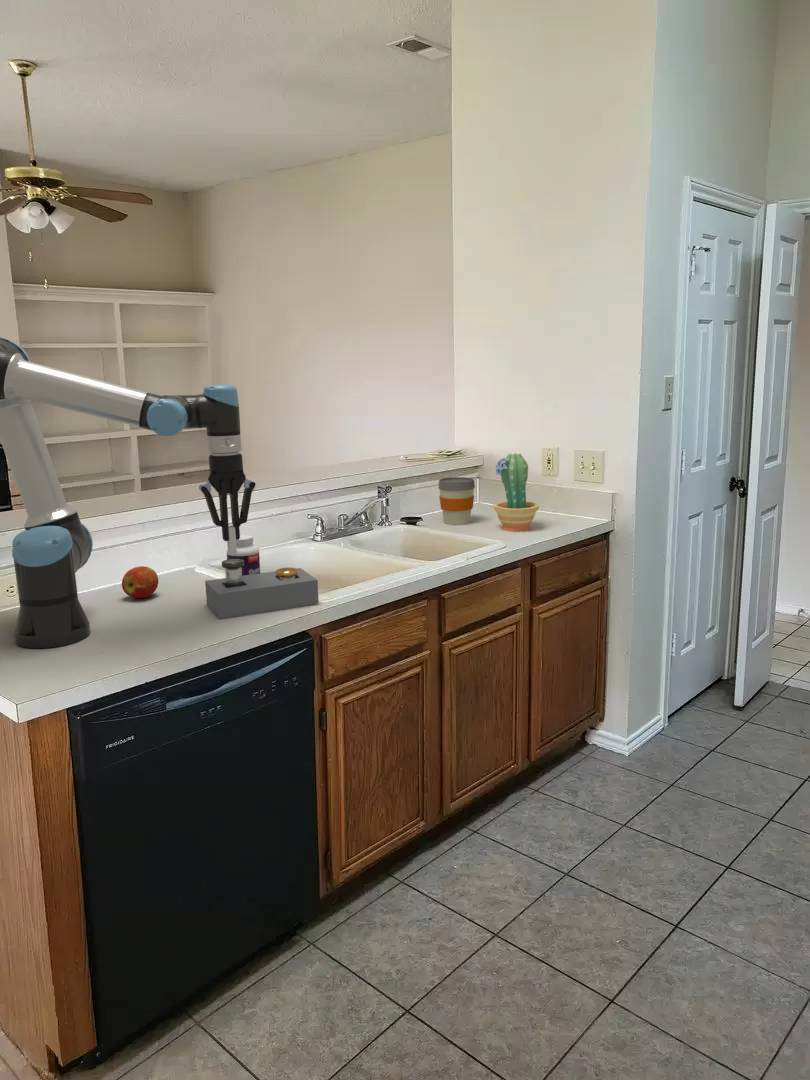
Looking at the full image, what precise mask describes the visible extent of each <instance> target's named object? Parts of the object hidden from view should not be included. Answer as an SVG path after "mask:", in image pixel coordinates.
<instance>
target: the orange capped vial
mask: <svg viewBox="0 0 810 1080" xmlns="http://www.w3.org/2000/svg"><path fill="white" fill-rule="evenodd" d="M275 571H276V575H277V576H279V580H280V581H281V580H288V579H295V576H296V575H297V574H298V569H296V567H282V568H281V567H280V568H278V569H276V570H275Z"/></svg>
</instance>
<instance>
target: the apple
mask: <svg viewBox="0 0 810 1080" xmlns="http://www.w3.org/2000/svg"><path fill="white" fill-rule="evenodd" d="M158 586H159V576H158V574H157V573H156V571H155V570H154V569H152V567H149V566H144V565H143V566H135V567H132V568H130V569H129V570H127V571H126V573H125V574H124V575H123V578H122V580H121V587H122V590H123V592H124V593H125V594H126V595H127V596H129V597H132V598H135V599H145V598H148V597H150V596H152V595H153V594H154V593H155V592H156V590H157V588H158Z"/></svg>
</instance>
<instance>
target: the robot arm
mask: <svg viewBox="0 0 810 1080" xmlns="http://www.w3.org/2000/svg"><path fill="white" fill-rule="evenodd" d="M237 389H238V388H236V386H235V385H232V384H211V385H205V386H204V387H203V392H202V393H201V394H194V395H193V394H183V395H181V394H178V395H176V394H175V395H168V394H164V395H159V394H156V393H150V392H147V391H143V390H139V389H135V388H132V387H128V386H125V385H120V384H115V383H114V382H113V383H112V382H110V381H105V380H101V379H97V378H93V377H90V376H86V375H83V374H78V373H75V372H70V371H67V370H63V369H59V368H55V367H52V366H48V365H44V364H40V363H37V362H33V361H31V359H30V357H29V355H28V353H27V352H26V351H25V350H24V349H23V347H21V346H20V345H19V344H18V343H16V342H14V341H12V340H10V339H7V338H3V337H0V443H1V446H2V449H3V451H4V455H5V457H6V461H7V463H8V465H9V468H10V471H11V474H12V476H13V479H14V481H15V484H16V486H17V489H18V492H19V495H20V498H21V500H22V501H21V502H22V503H23V505H24V508H25V511H26V513H27V518H26V521H25V523H24V525H23V527H24V529H25V530H23V531H21V532H19V533H17V534H16V535H15V536H14V538H12V539H13V540H12V543H11V545H12V550H11V552H12V554H11V555H12V559H13V564H14V570H15V578H16V579H15V580H16V586H17V593H18V602H19V608H18V609H19V610H18V614H17V618H16V624H15V626H14V627H15V628H14V633H13V634H14V640H15V641H14V643H15V644H16V645H17V646H19V647H22V648H28V649H47V648H48V649H49V648H56V647H60V646H61V647H63V646H67V645H70V644H73V643H77V642H80V641H82V640H83V639H86V638H87V637H88V636H89V635H90V634H91V625H90V621H89V619H88V617H87V615H86V612H85V611H84V608H83V606H82V604H81V603H80V600H79V596H78V594H79V593H78V587H77V579H76V578H77V577H76V573H77V572H78V571H79V570H80V569H81V568H83V567H84V566H85V565H86V563H87V562H88V561H89V559H90V557H91V555H92V551H93V546H94V545H93V543H94V542H93V537H92V534H91V532H90V531H89V529H88V528H87V527H86V525H84V523H81V520H80V517H79V514H78V511H77V509H75V508H73V507H72V506H70V505H68V503H67V501H66V497H65V495H64V492H63V489H62V486H61V484H60V481H59V478H58V476H57V472H56V470H55V467H54V464H53V462H52V458H51V456H50V453H49V449H48V447H47V445H46V441H45V438H44V436H43V433H42V430H41V428H40V427H41V426H40V425H39V421H38V419H37V415H36V413H35V411H34V407H33V405H32V401H33V402H37V403H42V404H45V405H49V406H54V407H57V408H60V409H65V410H69V411H73V412H77V413H81V414H86V415H88V416H94V417H97V418H102V419H105V420H109V421H110V420H111V421H113V422H117V423H122V424H126V425H129V426H132V427H137V428H142V429H144V430H148V431H152V432H154V433H155V434H157V435H159V436H161V437H162V436H163V437H174V436H176V435H178V434H179V433H181V432H182V431H183V430H188V429H189V430H190V429H191V430H192V429H206V436H207V452H208V453H209V454H210V455H209V456H208V467H209V474H208V477H207V481H206V482H205V483H204V484H200V485H199V487H198V488H199V491H201V493H202V494H203V495H204V499H205V502H206V505H207V507H208V510H209V514H210V517H211V521H212V523H213V524H214V525H215V526H216V527H221V534H222V536H221V537H222V540H223V541H225V542H226V543H227V549H228V553H229V554H230V555H237V547H236V540H239V539H240V535H241V531H240V527H241V525H243V524H246V523H247V521H248V516H249V511H250V505H251V498H252V493H253V491H254V489H255V488H256V482H254V481H252V480H250V479H248V478H247V476H246V474H245V472H244V465H243V463H244V462H243V455H242V454H241V453H240V452H242V450H243V449H242V448H243V447H242V439H241V438H242V437H241V420H240V416H241V415H240V404H239V396H238V390H237ZM242 486H243V488H244V489H243V494H242V502H241V506H240V510H239V491H240V489H241V488H242ZM211 487H213V489H214V490H215V491H216V492H217V493H218V494H217V495H218V499H219V512H220V513H219V514H218V511H217V508H216V504H215V502H214V498H213V496H212V493H211V492H212V488H211ZM228 495H229V499H230V511H231V513H230V515H231V524H232V525H229V512H228V509H229V508H228ZM219 515H220V517H219Z"/></svg>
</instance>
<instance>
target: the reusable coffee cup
mask: <svg viewBox="0 0 810 1080" xmlns="http://www.w3.org/2000/svg"><path fill="white" fill-rule="evenodd" d="M475 488H476V485H475V479H474V478H472V477H461V476H460V477H459V476H455V477H453V476H452V477H443V478H439V480H438V489H439V496H438V497H439V503H440V504H439V505H440V509H441V510H442V518H443V523H444V525H450V526H464V525H469V524H470V523H471V515H472V509H473V508H474V501H475V500H474V499H475V495H474V492H475V491H474V490H475Z"/></svg>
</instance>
